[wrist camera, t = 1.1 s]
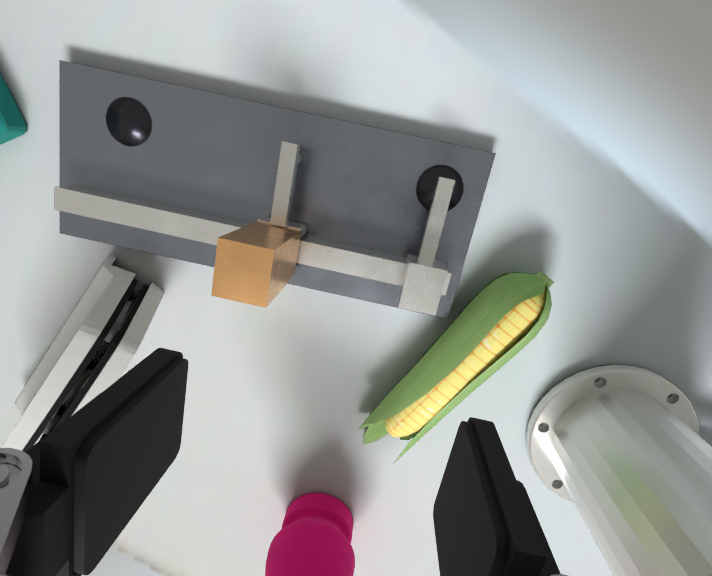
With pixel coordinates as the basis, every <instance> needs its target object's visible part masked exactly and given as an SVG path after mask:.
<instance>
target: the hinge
mask: <svg viewBox="0 0 712 576" xmlns="http://www.w3.org/2000/svg"><path fill="white" fill-rule="evenodd" d="M116 258H117V257H115V256H113V255H110V256H109V257H108V258H107V260H106V261H105V262H104V264H103V265H102V267H101V268H100V270H99V272H98V273H97V275H96V276H95V278H94V279H93V281H92V282H91V284H90V286H89V287H88V289H87V290H86V292H85V293H84V295H83V296H82V298H81V300H80V301H79V303H78V304H77V306H76V307H75V309H74V310H73V312H72V314H71V315H70V317H69V318H68V320H67V321H66V323H65V324H64V326H63V328H62V329H61V331H60V332H59V334H58V335H57V337H56V339H55V340H54V342H53V343H52V345H51V346H50V348H49V349H48V351H47V353H46V354H45V356H44V357H43V359H42V360H41V362H40V363H39V365H38V367H37V368H36V370H35V371H34V373H33V374H32V376H31V377H30V379H29V381H28V382H27V384H26V385H25V387H24V388H23V390H22V392H21V393H20V395H19V396H18V398H17V399H16V401H15V405H16V407H17V408H18V410H19V411H20V412H21V414H22V416H21V418H20V419H19V421H18V423H17V424H16V426H15V427H14V429H13V430H12V432H11V433H10V435H9V436H8V438H7V439H6V441H5V442H4V444H3V445H2V447H1V448H13V449H18V450H21V451H23V452H26V451H28V450H29V449H30V448H31V447H33V445H34V444H35V442H36V441H37V440H38V438H39V437H40V435H41V434H42V433H44V434H43V435H42V437H41V439H40V440H42V439H43V438H44V437H45V436H47V435H48V434H49V433H50V432H52V431H53V430H54V429H56V428H57V427H58V426H59V425H61V424H62V423H63V422H64V421H66V420H67V419H68V418H69V417H71V416H72V415H73V414H75V413H76V412H77V411H78V410H80V409H81V408H82V407H83V406H85V405H86V404H87V403H89V402H90V401H91V400H92V399H94V398H95V397H96V396H97V395H99V394H100V393H101V392H103V391H104V390H106V389H107V388H108V387H109V386H111V385H112V384H113V383H114V382H116V381H117V380H118V379H119V377H120V376H121V374H122V373H123V371H124V370H125V368H126V367H127V365H128V364H129V362H130V361H131V359H132V358H133V356H134V354H135V353H136V351H137V349H138V347H139V346H140V344H141V341H142V339H143V337H144V335H145V333H146V331H147V329H148V326H149V324H150V322H151V320H152V318H153V316H154V314H155V312H156V309H157V307H158V305H159V303H160V301H161V299H162V297H163V294H164V292H163V291H162V290H161V289H160V288H159V287H158V286H156V285H155V284H154V283H153V282H152V283H151V285H150V286H147V285H145V284H144V285H143V287H142V288H141V290H140V291H139V293H138V294H137V296H136V297H135V298H134V300H133V301H127V300H128V299H129V297H130V295H131V294H132V292H133V290H134V288H135V287H136V285H137V283H138V281H137V280H135V279H134V277H135V275H136V274H135V273H132V272H129V271H126V270H124V269H121V268H118V267H115V266H112V264H113V263H114V261H115V260H116ZM103 341H106V342H108V343H109V345H108V347H107V349H106V351H105V352H104V354H103V356H102V357H101V359H100V360H99V362H98V363H97V365H96V366H95V367H94V369H92V370H86V367H87V366H88V364H89V363H90V361H91V360H92V358H93V357H94V355H95V354H96V352H97V351H98V349H99V347H100V346H101V344H102V343H103ZM62 403H65V404H66V405H65V406H62Z"/></svg>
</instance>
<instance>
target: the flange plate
mask: <svg viewBox="0 0 712 576" xmlns="http://www.w3.org/2000/svg"><path fill="white" fill-rule="evenodd" d="M282 141H283V142H288V143H292V144H297V145H300V151H299V153H300V154H301V156H302V162H301V163H300V164H297V170H296V176H295V182H294V189H293V195H292V201H291V208H290V214H289V220H288V221H292V222H297V223H301V224H306V225H307V230H306V233H305V234H304V235H303V236H306V237H311V238H315V239H320V240H325V241H329V242H334V243H338V244H343V245H347V246H352V247H357V248H361V249H366V250H370V251H375V252H379V253H384V254H389V255H393V256H398V257H402V258H407V255H408V254H411V255H416V256H418V254H419V250H420V246H421V242H422V238H423V235H424V231H425V227H426V223H427V219H428V215H429V211H430V207H431V203H432V199H433V195H434V187H435V185H436V183H437V179H438V177H443V178H447V179H452V180H455V184H454V187H453V191H452V195H451V199H450V202H449V206H448V210H447V214H446V217H445V221H444V225H443V229H442V232H441V236H440V240H439V244H438V247H437V251H436V255H435V259H434V260H439V261H443V263H444V265H445V267H448V268H449V270H450V272H451V278H450V281H449V285H448V288H447V292H446V295H441V297H440V301H439V305H438V308H437V312H436V315H435V316H437V317H442V318H446V319H448V317H449V313H450V310H451V306H452V303H453V299H454V296H455V292H456V289H457V286H458V282H459V279H460V275H461V272H462V268H463V265H464V261H465V258H466V254H467V251H468V247H469V244H470V240H471V237H472V234H473V230H474V227H475V223H476V220H477V216H478V213H479V209H480V206H481V202H482V199H483V195H484V192H485V188H486V185H487V181H488V178H489V175H490V171H491V168H492V164H493V161H494V157H495V154H496V153H492V152H487V151H482V150H478V149H473V148H468V147H464V146H459V145H454V144H450V143H445V142H440V141H436V140H431V139H426V138H421V137H417V136H412V135H407V134H403V133H398V132H393V131H389V130H384V129H379V128H375V127H370V126H365V125H361V124H356V123H351V122H347V121H342V120H337V119H332V118H328V117H323V116H318V115H314V114H309V113H304V112H300V111H295V110H290V109H286V108H281V107H276V106H272V105H267V104H262V103H258V102H253V101H248V100H244V99H239V98H234V97H229V96H225V95H220V94H215V93H211V92H206V91H201V90H197V89H192V88H187V87H183V86H178V85H173V84H169V83H164V82H159V81H155V80H150V79H145V78H141V77H136V76H131V75H126V74H122V73H117V72H112V71H108V70H103V69H98V68H94V67H89V66H84V65H80V64H75V63H70V62H66V61H61V60H60V186H71V185H73V186H78V187H83V188H87V189H92V190H96V191H101V192H105V193H110V194H115V195H119V196H124V197H128V198H133V199H137V200H142V201H147V202H151V203H156V204H160V205H165V206H169V207H174V208H178V209H183V210H188V211H192V212H197V213H201V214H206V215H210V216H215V217H220V218H224V219H229V220H233V221H238V222H242V223H247V224H251V223H254V222H256V221H258V219H260V218H262V217H265V216H269V217H271V213H272V206H273V199H274V192H275V186H276V179H277V172H278V165H279V158H280V151H281V144H282ZM60 233H62V234H66V235H71V236H75V237H80V238H84V239H89V240H93V241H98V242H103V243H107V244H112V245H116V246H121V247H125V248H130V249H134V250H139V251H143V252H148V253H152V254H157V255H161V256H166V257H170V258H175V259H179V260H184V261H188V262H193V263H197V264H202V265H206V266H211V267H215V259H216V250H217V245H213V244H209V243H204V242H199V241H195V240H190V239H186V238H181V237H177V236H172V235H168V234H163V233H159V232H154V231H150V230H145V229H140V228H136V227H131V226H127V225H122V224H118V223H113V222H109V221H104V220H100V219H95V218H90V217H86V216H81V215H77V214H72V213H68V212H63V211H60ZM288 284H292V285H297V286H301V287H306V288H310V289H315V290H320V291H324V292H329V293H333V294H338V295H342V296H347V297H351V298H356V299H360V300H365V301H369V302H374V303H378V304H383V305H387V306H392V307H396V308H398V292H399V288H400V286H399V285H395V284H390V283H386V282H381V281H377V280H372V279H368V278H363V277H358V276H354V275H349V274H345V273H340V272H336V271H331V270H327V269H322V268H318V267H313V266H308V265H304V264H300V270H299V271H298V272H297V274H296V275H295V276H294V277H292V278H291V279H290V281H289V282H288ZM401 309H402V308H401ZM405 310H407V309H405ZM410 311H411V310H410ZM414 312H416V311H414ZM419 313H420V312H419ZM424 314H425V313H424ZM428 315H429V314H428ZM433 316H434V315H433Z"/></svg>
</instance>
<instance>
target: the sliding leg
mask: <svg viewBox="0 0 712 576" xmlns="http://www.w3.org/2000/svg"><path fill="white" fill-rule="evenodd" d="M299 151H300V145H297V144H292V143H288V142H283V141H282V144H281V151H280V158H279V165H278V172H277V179H276V186H275V192H274V199H273V206H272V213H271V217H269V216H265V217H262V218H260V219H258V221H256V222H254V223H251V224H249V225H246V226H244V227H242V228H239V229H237V230H235V231H232V232H230V233H228V234H225V235H223V236H220V237H218V241H217V250H216V259H215V268H214V277H213V286H212V296H216V297H220V298H225V299H229V300H234V301H238V302H243V303H247V304H252V305H256V306H261V307H265V308H266V307H267V306H268V305H269V303H270V302H271V301H272V300H273V299H274V298H275V297H276V295H277V294H278V293H279V292H280V291H281V290H282V289H283V287H284V286H285V285H286V284H287V283H288V282H289V281H290V279H291V278H292V277H294V276H295V275H296V274H297V272H298V271H299V270H300V264H299V263H296V262H297V257H298V251H299V245H300V239H301V237H302V236H303V235H304V234H305V233H306V230H307V225H306V224H301V223H297V222H292V221H288V220H289V214H290V208H291V201H292V195H293V189H294V182H295V176H296V170H297V164H300V163H301V162H302V156H301V154H300V153H299Z"/></svg>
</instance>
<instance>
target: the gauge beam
mask: <svg viewBox="0 0 712 576" xmlns="http://www.w3.org/2000/svg"><path fill="white" fill-rule="evenodd" d="M454 184H455V180H452V179H447V178H443V177H438V179H437V183H436V185H435V187H434V195H433V199H432V203H431V207H430V211H429V215H428V219H427V223H426V227H425V231H424V235H423V238H422V242H421V246H420V250H419V254H418V256H416V255H411V254H408V255H407V258H402V257H398V256H393V255H389V254H384V253H379V252H375V251H370V250H366V249H361V248H357V247H352V246H347V245H343V244H338V243H334V242H329V241H325V240H320V239H315V238H311V237H306V236H302V237H301V239H300V245H299V251H298V257H297V262H296V263H299V264H304V265H308V266H313V267H318V268H322V269H327V270H331V271H336V272H340V273H345V274H349V275H354V276H358V277H363V278H368V279H372V280H377V281H381V282H386V283H390V284H395V285H399V286H400V288H399V292H398V308H402V309H407V310H411V311H416V312H420V313H425V314H429V315H434V316H435V315H436V312H437V308H438V305H439V301H440V297H441V295H446V292H447V288H448V285H449V281H450V278H451V272H450V270H449V268H448V267H445V265H444V263H443V261H439V260H434V259H435V255H436V251H437V247H438V244H439V240H440V236H441V232H442V229H443V225H444V221H445V217H446V214H447V210H448V206H449V202H450V199H451V195H452V191H453V187H454ZM54 210H59V211H63V212H68V213H72V214H77V215H81V216H86V217H90V218H95V219H100V220H104V221H109V222H113V223H118V224H122V225H127V226H131V227H136V228H140V229H145V230H150V231H154V232H159V233H163V234H168V235H172V236H177V237H181V238H186V239H190V240H195V241H199V242H204V243H209V244H213V245H217V241H218V237H220V236H223V235H225V234H228V233H230V232H232V231H235V230H237V229H239V228H242V227H244V226H246V225H249V224H247V223H242V222H238V221H233V220H229V219H224V218H220V217H215V216H210V215H206V214H201V213H197V212H192V211H188V210H183V209H178V208H174V207H169V206H165V205H160V204H156V203H151V202H147V201H142V200H137V199H133V198H128V197H124V196H119V195H115V194H110V193H105V192H101V191H96V190H92V189H87V188H83V187H78V186H73V185H71V186H56V187H54Z"/></svg>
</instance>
